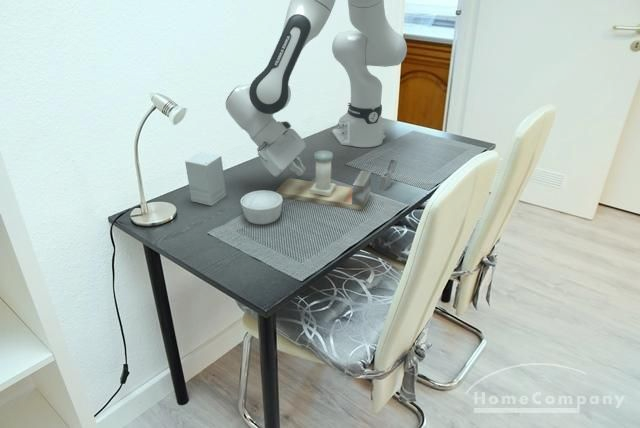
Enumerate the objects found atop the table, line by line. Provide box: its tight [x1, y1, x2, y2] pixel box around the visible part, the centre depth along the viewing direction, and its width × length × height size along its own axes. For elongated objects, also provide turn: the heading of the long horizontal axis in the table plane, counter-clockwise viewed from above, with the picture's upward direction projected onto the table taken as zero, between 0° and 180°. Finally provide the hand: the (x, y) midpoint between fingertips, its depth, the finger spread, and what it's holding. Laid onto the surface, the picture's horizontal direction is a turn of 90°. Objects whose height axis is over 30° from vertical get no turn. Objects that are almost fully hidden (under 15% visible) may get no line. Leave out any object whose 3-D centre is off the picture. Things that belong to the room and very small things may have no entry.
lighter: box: [379, 158, 398, 191], centre depth 137 cm, size 7×2×8 cm, turn 146°
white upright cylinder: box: [310, 150, 337, 196], centre depth 129 cm, size 6×6×11 cm
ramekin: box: [239, 189, 284, 225], centre depth 121 cm, size 11×11×5 cm
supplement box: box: [184, 151, 227, 207], centre depth 128 cm, size 7×7×13 cm
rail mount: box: [275, 170, 372, 211], centre depth 131 cm, size 26×10×8 cm, turn 72°
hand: (302, 172), depth 131 cm, fingers closed
